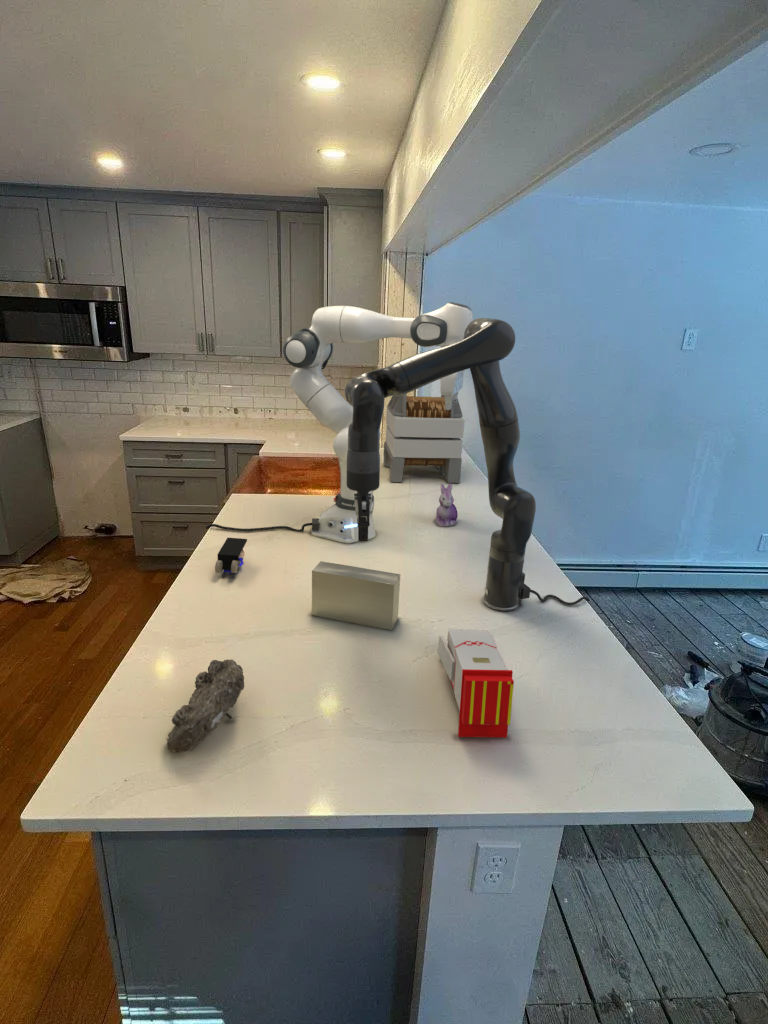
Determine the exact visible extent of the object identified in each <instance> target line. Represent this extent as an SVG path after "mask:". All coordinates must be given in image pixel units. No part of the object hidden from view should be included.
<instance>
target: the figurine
mask: <svg viewBox="0 0 768 1024" xmlns="http://www.w3.org/2000/svg"><path fill="white" fill-rule="evenodd" d="M452 489H453V483H449V484H448V485H447V487H445V485H444V484H443V483H441V484H440V494H439V497H438V503H439V506H438V507H437V508H436V513H435V515H436V517H435V521H434V522H435V523H436V524H437V526H440V527H450V526H454V525H455V524H457V520H458V517H459V516H458V514H459V513H458V510H457V507H456V505H455V504H454V502H455V498H454V495H453V493H452Z"/></svg>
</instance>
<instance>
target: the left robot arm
mask: <svg viewBox="0 0 768 1024" xmlns="http://www.w3.org/2000/svg"><path fill="white" fill-rule="evenodd" d="M473 320H474V313H473V310H472V309H471V307H470V306H468V305H466V304H462V303H458V302H453V301H450V302H447V303H446V304H445V305H443V306H441V307H439V308H438V309H436V310H432V311H429V312H426V313H422V314H420V315H418V316H416V317H406V316H405V317H404V316H390V315H387V314H384V313H380V312H376V311H374V310H370V309H366V308H364V307H358V306H353V305H330V306H323V307H319V308H317V309H316V310H315V311H314V313H313V314H312V318H311V323H310V327H308V328H307V327H303V328H301V329H299V330H298V331H297V332H295V333H293V334H291V335H290V336H288V338H286V340H285V342H284V343H283V347H282V354H283V356H284V359H285V361H286V362H287V363H288V364H289V365H290V366H292V367H294V368H295V369H294V370H293V371H292V373H291V375H290V377H289V383H290V387H291V388H292V390H293V391H294V393H295V395H296V396H297V397H298V399H299V400H300V401H301V403H302V404H303V405H304V406H305V407H306V408H307V410H308V411H309V412H310V413H311V414H312V415H313V416H314V417H315V418H316V420H317V421H318V422H319V423H320V424H321V425H323V426H324V427H327V428H328V429H330V430H331V431H333V432H334V433H336V436H335V437H334V439H333V443H332V446H333V448H332V449H333V451H334V454H335V455H336V457H337V462H338V466H339V473H340V490H339V491H338V492H337V494H336V495H335V496H334V497H333V502H334V504H333V505H331V506H329V507H328V508H326V509H325V510H323V512H321V514H320V515H319V517H315V518H314V517H313V518H311V522H307V523H303V524H302V525H301V528H299V529H297V528H294V527H290V526H287V525H275V526H266V527H265V526H263V527H251V528H241V527H231V526H223V525H220V524H217V523H210V524H208V525H206V526H205V528H204V529H206V530H208V529H210V528H213V527H214V528H217V529H221V530H226V531H233V532H259V531H260V532H261V531H269V530H288V531H291V532H296V533H302V532H304V530H305V527H310V526H311V530H310V533H311V536H315V537H319V538H323V539H326V540H330V541H336V542H339V543H343V544H352V543H357V542H360V541H359V540H358V527H357V517H356V507H355V502H354V494H357V491H353V490H350V489H349V488H348V487H347V452H348V428H349V425H350V424H351V423H352V419H353V406H352V405H350V404H349V403H348V401H347V400H346V398H344V396H342V394H340V393H339V391H338V390H337V389H336V388H335V387H334V385H332V383H331V382H330V381H329V380H328V378H326V377H325V376H324V374H323V372H322V370H324V369H326V366H327V364H328V363H329V360H330V359H331V357H332V356H333V352H334V344H335V343H337V344H338V343H339V344H348V345H349V344H350V345H351V344H353V345H354V344H356V345H357V344H364V343H371V342H374V341H378V340H382V339H388V338H397V339H411V340H412V341H413V342H414V343H415V344H416V345H417V346H419V347H422V348H433V347H440V348H442V347H445V346H449V345H451V344H454V343H457V342H459V341H462V340H463V338H464V332H465V329H466V328H467V326H468V324H469V323H470V322H471V321H473ZM464 375H465V370H463V371H460V372H457V373H454V374H451V375H449V376H446V377H444V378H441V379H439V381H440V382H439V384H440V385H439V387H440V389H439V390H440V396H441V395H444V396H445V409H446V410H450V409H451V406H452V405H456V402H457V398H458V396H459V392H460V390H462V389H463V386H464ZM381 436H382V432H381V429H380V428H379V441H380V440H381ZM368 494H371V497H372V504H371V516H370V517H369V523H370V525H369V527H368V541H369V540H372V539H373V538H375V537H376V535H377V532H376V528H375V523H374V513H373V512H374V509H375V496H374V491H370V492H369V493H368ZM366 521H367V518H366Z"/></svg>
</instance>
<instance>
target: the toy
mask: <svg viewBox="0 0 768 1024" xmlns="http://www.w3.org/2000/svg"><path fill="white" fill-rule="evenodd" d="M446 640H447V643H446V641H445V639H444V636H443V635H442V634H439V637H438V646H437V656H438V657H439V659H440V661H441V663H442V666H443V668H444V670H445V672H446V674H447V677H448V679H449V681H450V684H451V687H452V690H453V693H454V697H455V701H456V705H457V708H458V711H459V714H458V715H459V716H458V730H457V731H458V732H457V737H458V738H508V731H509V726H510V725H511V717H512V707H513V697H514V696H513V695H514V684H515V680H514V679H513V673H514V671H513V670H512V669H508V667H507V665H506V662H505V661H504V659H503V658H502V655H501V653H500V651H499V649H498V647H497V643H496V639H495V637H494V635H493V634H491V632H490V631H489V629H467V628H466V629H465V628H463V629H461V628H460V629H459V628H448V630H447V639H446Z"/></svg>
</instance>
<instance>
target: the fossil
mask: <svg viewBox="0 0 768 1024" xmlns="http://www.w3.org/2000/svg"><path fill="white" fill-rule="evenodd" d="M243 670H244V669H243V667H242V665H240V664H237V662H236V661H235V660H234V659H232V658H231V659H227V658H226V659H224V660H223V661H222V660H217V659H212V660H211V661H210V663H209V665H208V666H207V671H201V672H199V673H198V674H197V675H196V676H195V680H194V684H195V685H194V687H195V689H194V690H193V693H192V694H191V697H190V698H189V700H188V704H184V705H182V706H181V707H180V709H177V710H176V711H175V713H174V715H173V716H172V718H171V723H172V724H173V727H172V730H171V731H170V732H168V734H167V738H166V741H167V742H166V745H167V749H168V750H169V751H173V752H174V753H176V754H178V753H182V752H188V751H189V752H192V751H193V750H195V748H196V747H197V746H199V744H200V743H201V742H203V741H204V740H205V739H206V738H207V737H208V736H209V735H210V734H211V733H212V732H214V730H215V729H217V727H218V726H219V724H220V722H221V721H222V720H223V719H224V718H225V716H226V717H227V719H229V720H233V717H232V715H230V714H229V710H230V709H231V708H234V706H235V704H236V703H237V702H238V699H239V697H240V695H241V693H242V691H243V690H245V689H244V688H245V675H244V671H243Z"/></svg>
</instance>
